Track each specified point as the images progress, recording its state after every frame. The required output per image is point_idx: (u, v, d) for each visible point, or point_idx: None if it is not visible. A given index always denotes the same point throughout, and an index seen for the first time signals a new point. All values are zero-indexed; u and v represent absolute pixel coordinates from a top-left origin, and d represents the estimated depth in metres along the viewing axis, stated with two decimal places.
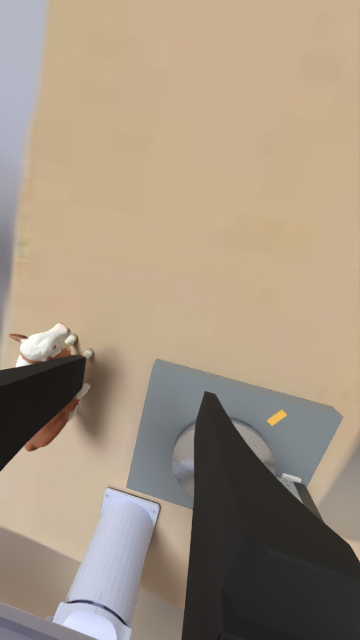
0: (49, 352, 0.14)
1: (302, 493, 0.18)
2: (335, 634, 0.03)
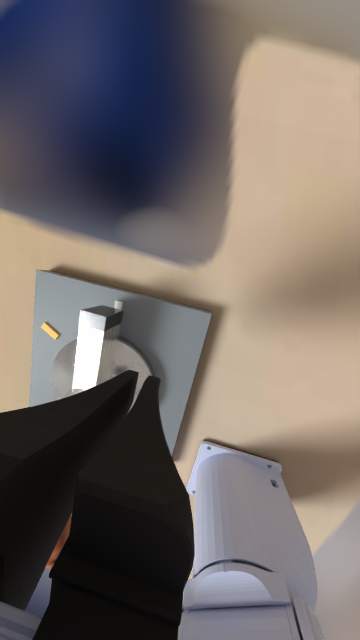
0: None
1: None
2: (156, 571, 0.03)
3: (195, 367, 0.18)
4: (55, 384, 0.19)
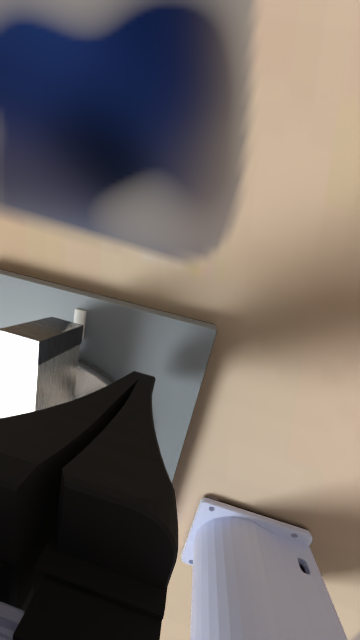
0: None
1: None
2: (140, 565, 0.03)
3: (192, 405, 0.13)
4: None
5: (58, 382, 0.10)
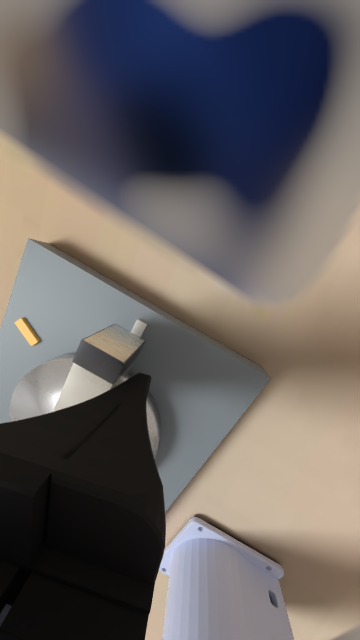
0: None
1: None
2: (128, 561, 0.03)
3: (221, 438, 0.13)
4: (15, 411, 0.13)
5: None
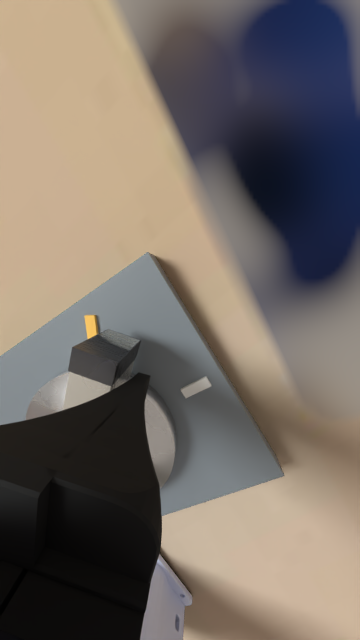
0: None
1: None
2: (124, 559, 0.03)
3: (213, 497, 0.14)
4: None
5: None
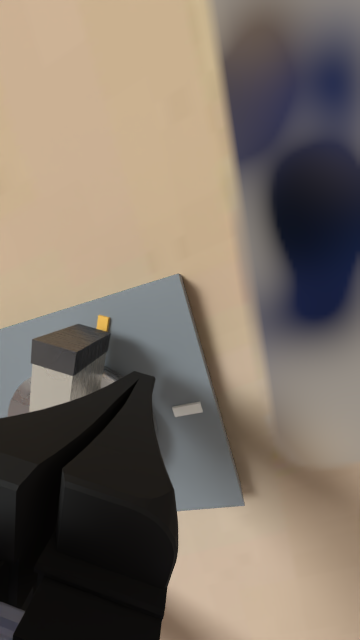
0: None
1: None
2: (140, 565, 0.03)
3: None
4: None
5: (87, 391, 0.10)
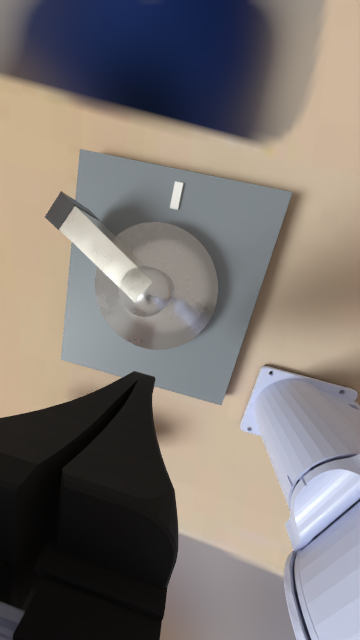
0: None
1: None
2: (140, 565, 0.03)
3: (266, 264, 0.16)
4: (128, 336, 0.17)
5: (105, 230, 0.14)
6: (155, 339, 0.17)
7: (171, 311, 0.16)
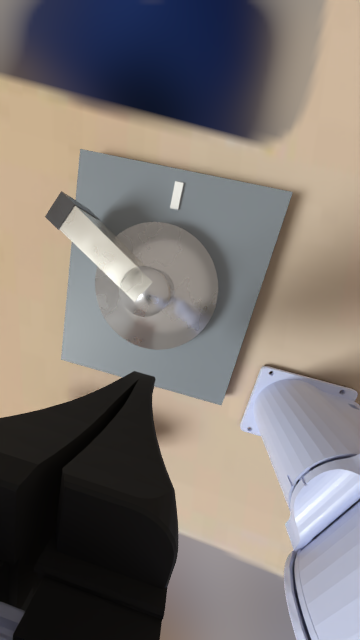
0: None
1: None
2: (140, 565, 0.03)
3: (266, 264, 0.16)
4: (128, 336, 0.17)
5: (105, 230, 0.14)
6: (155, 339, 0.17)
7: (171, 311, 0.16)
